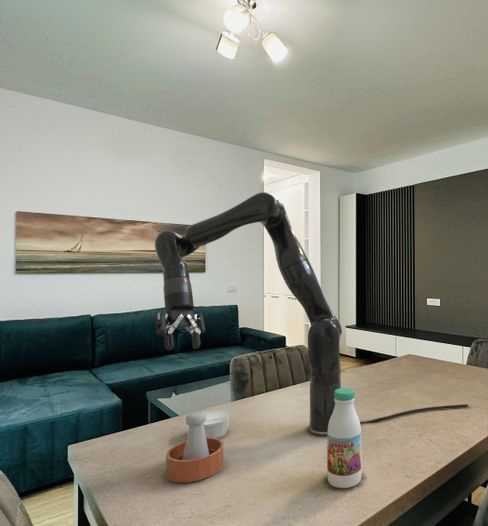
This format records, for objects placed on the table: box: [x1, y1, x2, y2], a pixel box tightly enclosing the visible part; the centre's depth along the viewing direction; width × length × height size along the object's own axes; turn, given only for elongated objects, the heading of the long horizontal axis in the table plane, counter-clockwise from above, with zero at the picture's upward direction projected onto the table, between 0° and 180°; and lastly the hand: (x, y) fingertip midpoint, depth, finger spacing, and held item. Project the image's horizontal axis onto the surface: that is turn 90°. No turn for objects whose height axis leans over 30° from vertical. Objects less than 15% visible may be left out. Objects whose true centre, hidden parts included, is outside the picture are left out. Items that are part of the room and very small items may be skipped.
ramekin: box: [203, 409, 231, 439], centre depth 108 cm, size 11×11×5 cm
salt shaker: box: [182, 410, 209, 460], centre depth 89 cm, size 6×6×13 cm
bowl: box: [165, 438, 225, 483], centre depth 89 cm, size 12×12×5 cm
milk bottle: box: [326, 387, 363, 489], centre depth 85 cm, size 8×8×20 cm
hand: (183, 348), depth 107 cm, fingers open, 8 cm apart
